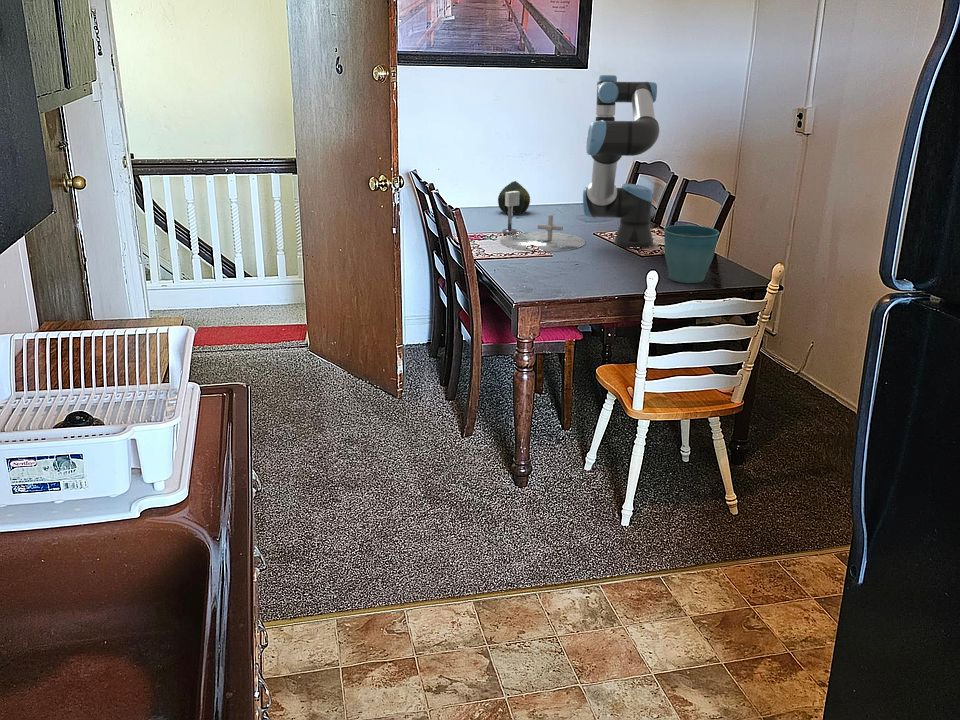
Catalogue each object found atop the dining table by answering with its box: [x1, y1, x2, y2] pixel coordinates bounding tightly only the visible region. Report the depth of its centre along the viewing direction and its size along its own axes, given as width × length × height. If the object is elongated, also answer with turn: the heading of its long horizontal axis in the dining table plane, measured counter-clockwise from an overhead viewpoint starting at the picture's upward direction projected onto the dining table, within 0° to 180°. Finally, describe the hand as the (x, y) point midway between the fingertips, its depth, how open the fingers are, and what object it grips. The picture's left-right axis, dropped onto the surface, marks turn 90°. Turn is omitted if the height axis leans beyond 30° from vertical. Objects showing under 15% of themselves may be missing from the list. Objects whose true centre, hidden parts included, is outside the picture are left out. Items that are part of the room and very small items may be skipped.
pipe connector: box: [537, 214, 564, 240], centre depth 345 cm, size 10×10×10 cm
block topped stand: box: [501, 191, 520, 235], centre depth 357 cm, size 6×6×17 cm
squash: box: [497, 180, 531, 215], centre depth 400 cm, size 14×15×15 cm
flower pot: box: [663, 224, 720, 284], centre depth 290 cm, size 18×18×17 cm
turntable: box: [500, 231, 586, 253], centre depth 345 cm, size 34×34×1 cm
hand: (602, 176), depth 348 cm, fingers closed
